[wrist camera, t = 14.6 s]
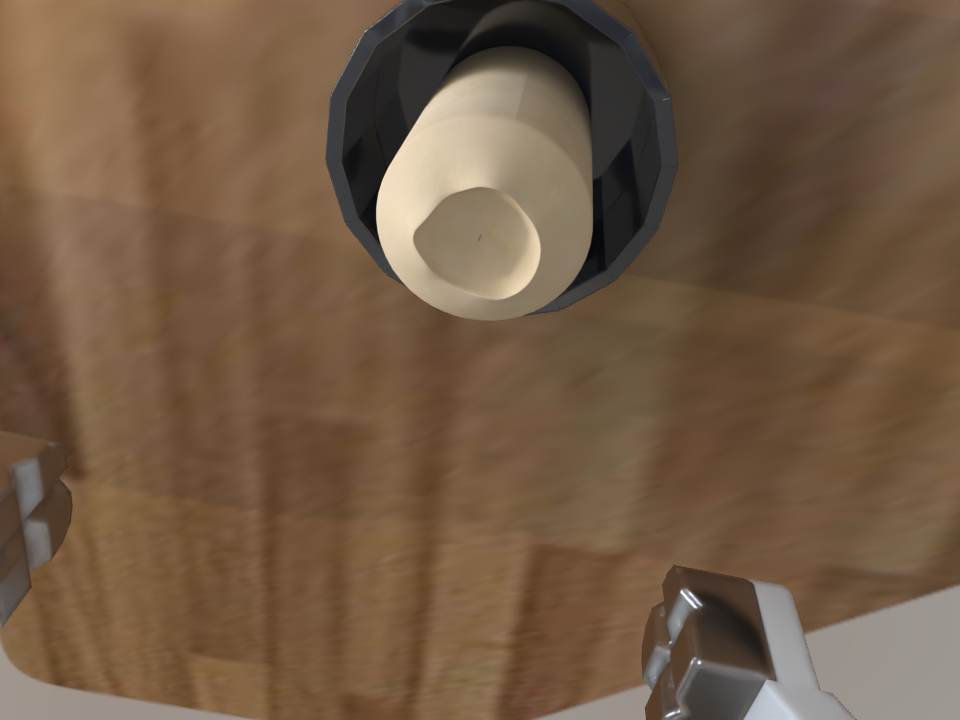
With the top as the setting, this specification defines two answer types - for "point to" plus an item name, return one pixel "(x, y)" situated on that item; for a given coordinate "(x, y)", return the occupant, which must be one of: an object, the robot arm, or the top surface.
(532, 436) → the top surface
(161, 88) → the top surface
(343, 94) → the holder
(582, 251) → the candle
